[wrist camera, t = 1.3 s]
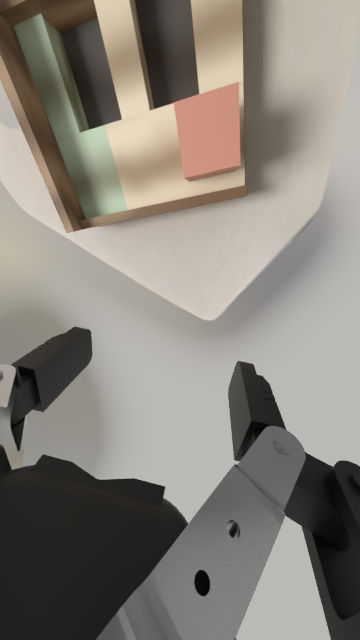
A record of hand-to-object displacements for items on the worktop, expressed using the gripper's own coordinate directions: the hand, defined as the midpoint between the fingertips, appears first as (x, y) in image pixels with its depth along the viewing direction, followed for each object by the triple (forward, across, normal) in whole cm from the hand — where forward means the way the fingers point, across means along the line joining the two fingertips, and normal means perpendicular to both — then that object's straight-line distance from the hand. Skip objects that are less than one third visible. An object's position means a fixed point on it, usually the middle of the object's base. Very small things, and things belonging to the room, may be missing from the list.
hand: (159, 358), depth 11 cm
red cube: (+18, +1, -14) cm, 23 cm away
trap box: (+20, +9, -16) cm, 27 cm away
